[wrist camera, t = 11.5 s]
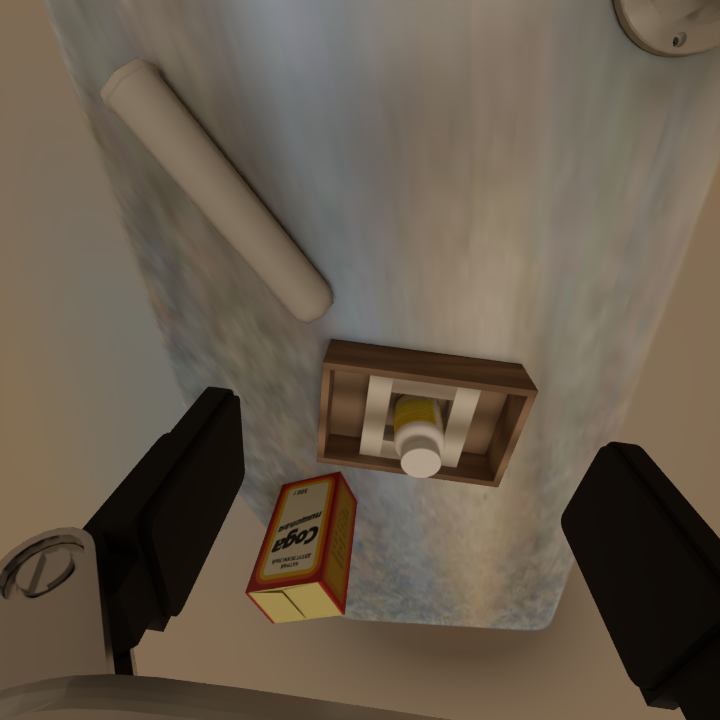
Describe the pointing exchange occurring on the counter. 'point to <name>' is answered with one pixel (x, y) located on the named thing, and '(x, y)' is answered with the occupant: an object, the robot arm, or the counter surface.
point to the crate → (429, 379)
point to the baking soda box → (306, 551)
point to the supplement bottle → (418, 434)
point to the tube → (214, 186)
